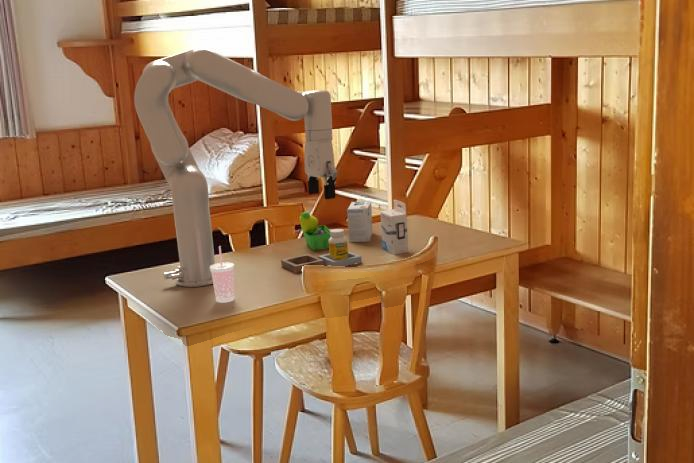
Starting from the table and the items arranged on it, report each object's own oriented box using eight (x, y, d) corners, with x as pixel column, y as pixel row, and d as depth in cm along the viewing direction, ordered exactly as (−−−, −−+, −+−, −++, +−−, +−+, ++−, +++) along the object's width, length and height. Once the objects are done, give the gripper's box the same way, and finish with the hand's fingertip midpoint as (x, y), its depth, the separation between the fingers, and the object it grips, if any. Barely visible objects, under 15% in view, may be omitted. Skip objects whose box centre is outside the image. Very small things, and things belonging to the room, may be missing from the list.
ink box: (381, 248, 248) (378, 201, 244) (396, 246, 250) (393, 198, 246) (394, 255, 240) (391, 205, 237) (409, 252, 242) (406, 203, 238)
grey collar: (334, 269, 230) (333, 262, 229) (318, 262, 237) (318, 256, 237) (361, 262, 234) (361, 256, 234) (345, 256, 242) (345, 250, 241)
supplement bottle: (342, 259, 239) (340, 227, 237) (352, 262, 235) (350, 230, 233) (326, 263, 236) (324, 230, 234) (336, 266, 232) (334, 233, 230)
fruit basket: (333, 248, 252) (331, 212, 249) (305, 252, 250) (302, 216, 247) (325, 240, 263) (323, 205, 260) (298, 243, 261) (295, 209, 258)
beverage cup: (236, 302, 207) (231, 248, 203) (212, 304, 206) (206, 250, 203) (237, 295, 212) (232, 242, 209) (214, 297, 212) (208, 244, 209)
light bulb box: (353, 233, 269) (350, 201, 266) (373, 233, 268) (371, 200, 265) (348, 242, 258) (346, 208, 256) (369, 241, 257) (367, 207, 255)
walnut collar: (295, 273, 228) (295, 266, 228) (281, 266, 236) (280, 259, 235) (324, 266, 233) (323, 260, 232) (309, 260, 240) (308, 253, 240)
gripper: (293, 134, 234) (296, 193, 238) (321, 139, 219) (324, 202, 223) (316, 131, 238) (319, 190, 241) (346, 136, 223) (348, 199, 227)
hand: (321, 196), depth 232 cm, fingers open, 9 cm apart
